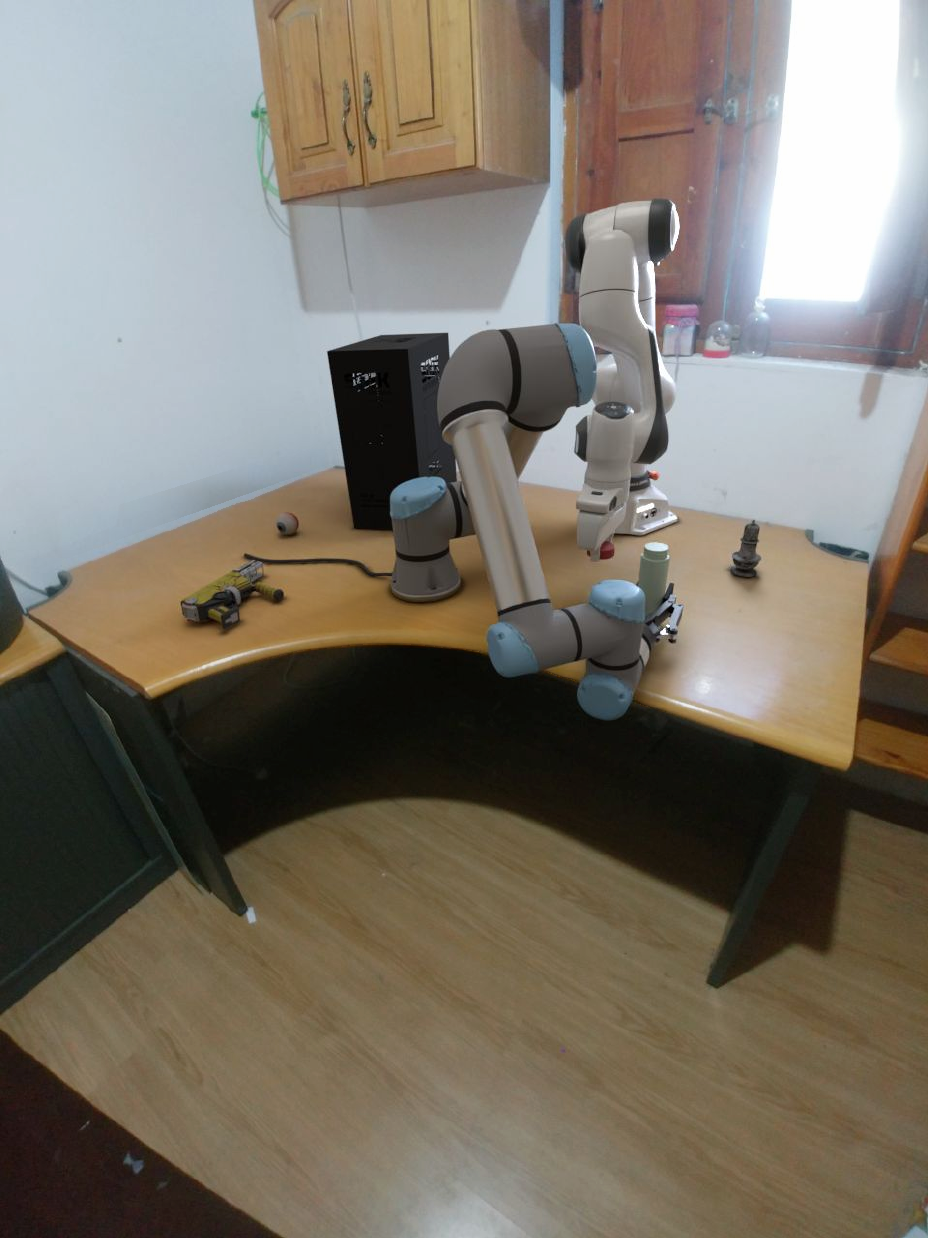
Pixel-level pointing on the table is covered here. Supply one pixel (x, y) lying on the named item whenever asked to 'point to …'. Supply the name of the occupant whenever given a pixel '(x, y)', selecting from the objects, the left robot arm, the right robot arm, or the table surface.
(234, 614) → the toy gun
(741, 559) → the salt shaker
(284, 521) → the eyeball
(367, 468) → the black computer case
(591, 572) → the table surface
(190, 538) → the table surface
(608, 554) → the lid
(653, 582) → the jar
